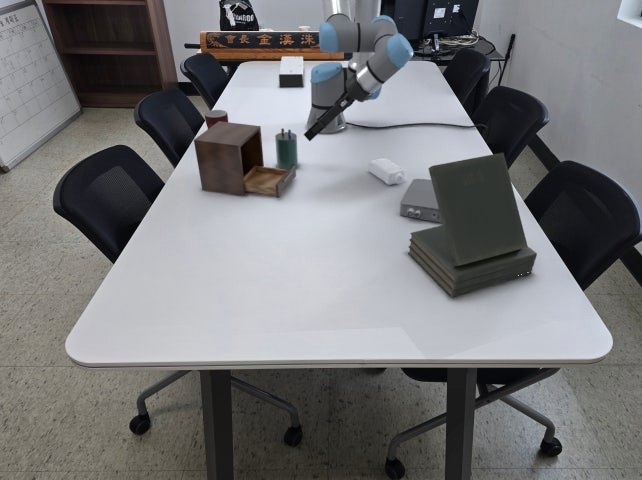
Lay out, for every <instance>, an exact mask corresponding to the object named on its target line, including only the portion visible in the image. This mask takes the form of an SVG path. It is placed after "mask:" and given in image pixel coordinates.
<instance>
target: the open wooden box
mask: <svg viewBox="0 0 642 480" xmlns="http://www.w3.org/2000/svg"><path fill="white" fill-rule="evenodd" d="M261 127H262V126H261V125H254V124H245V123H236V122H229V121H228V122H221V121H219V122H217V123H216V124H215V125H213V126H212V127H211V128H209V129H208V128H207V129H206V130H205V131H204V132H202V133H200V134H199V135H198V136H197V137H196V138H194V139H193V144H194V149H195V156H196V162H197V167H198V173H199V178H200V185H201V190H202V191H206V192H207V191H208V192H214V193H221V194H228V195H234V196H240V197H245V196H246V195H247V194H248V193H249V191H245V184H244V176H245V175H246V174H247V173H248V172H249V171H250V170H251V169H252V168H253V167H254V166H262V167H265V164H264V163H265V162H264V151H263V139H262V129H261Z"/></svg>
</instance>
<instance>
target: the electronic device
mask: <svg viewBox="0 0 642 480" xmlns="http://www.w3.org/2000/svg"><path fill="white" fill-rule="evenodd" d="M399 215H400V216H403V217H410V218H415V219H420V220H425V221H430V222H435V223H441V224H443V223H442V219H441V215H440V211H439V208H438V204H437V200H436V196H435V192H434V188H433V184H432V180H431V179H426V178H414V179H413V180H412V181H411V182H410V184H409V186H408V188H407V189H406V191H405V193H404V194H403V197H402V199H401V200H400V207H399Z"/></svg>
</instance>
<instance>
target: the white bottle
mask: <svg viewBox="0 0 642 480" xmlns="http://www.w3.org/2000/svg"><path fill="white" fill-rule="evenodd" d="M368 172H370V173H371V174H372V175H374V176H375V177H377V178H378V179H380V180H381V181H383V182H384V183H385V184H386V185H388V186H391V185H400V184H401V183H402V182H404V181H405V175H406V170H405V169H404V168H402V167H401V166H398V165H397V164H395V163H393V162H392V161H390V160H389V159H387V158H385V157H382V158H377V159H371V160H370V161H369V165H368Z"/></svg>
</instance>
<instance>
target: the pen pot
mask: <svg viewBox="0 0 642 480" xmlns="http://www.w3.org/2000/svg"><path fill="white" fill-rule="evenodd" d="M280 130H281V131H280V132H277V133H276V134H275V135H274V140H275V153H276V154H275V155H276V168H277V169H284V170H288V169H289V168H290V167H291V166H292V165H293V164H296V169H297V168H298V167H299V158H298V136H297V135H298V134H296V133H295V132H292V131H291V129H288V130H287V131H285V128H283V127H282V128H281V129H280Z"/></svg>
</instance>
